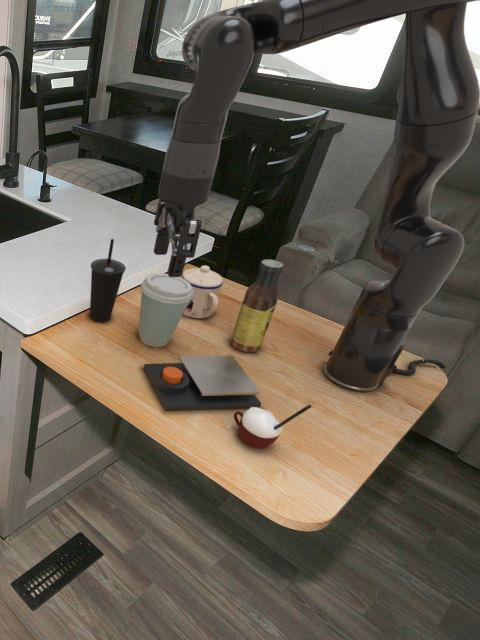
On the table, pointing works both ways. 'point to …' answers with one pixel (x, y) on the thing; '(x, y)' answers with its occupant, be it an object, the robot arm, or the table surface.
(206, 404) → the scale
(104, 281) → the drinking cup
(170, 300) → the disposable coffee cup
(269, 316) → the sauce bottle
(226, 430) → the table surface
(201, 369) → the weighing plate
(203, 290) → the teacup with lid
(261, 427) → the cocoa
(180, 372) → the power button
